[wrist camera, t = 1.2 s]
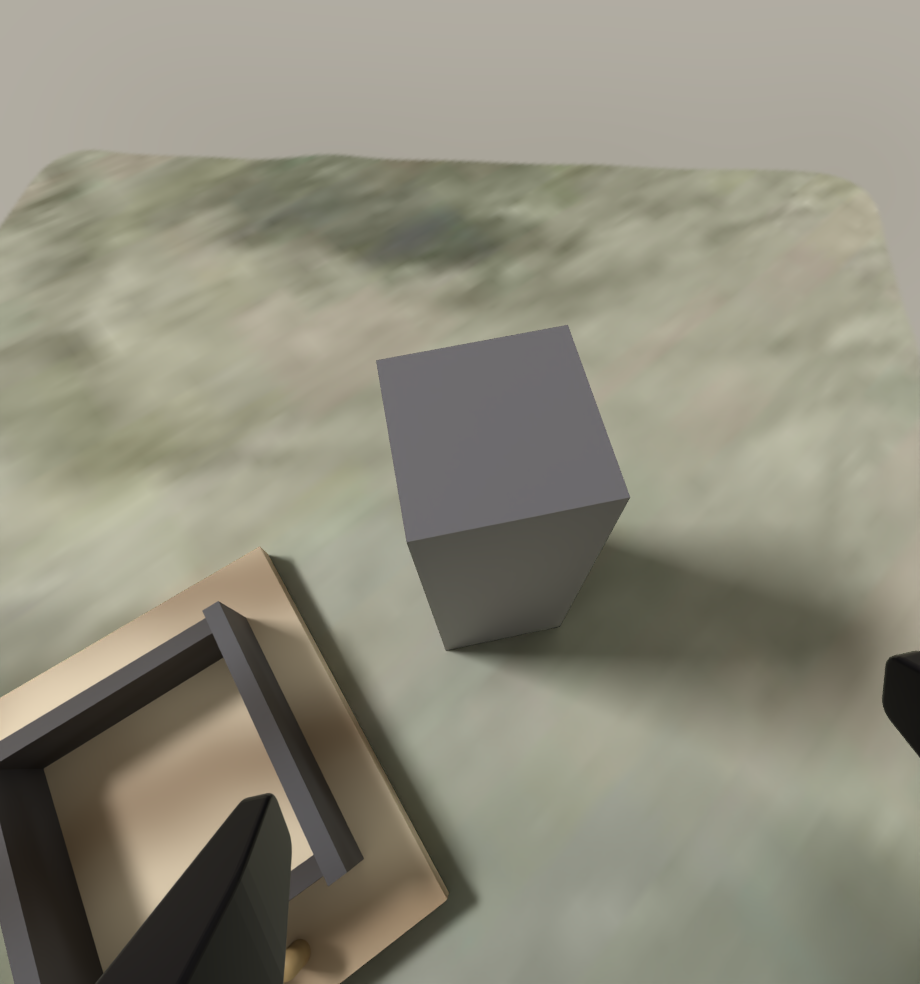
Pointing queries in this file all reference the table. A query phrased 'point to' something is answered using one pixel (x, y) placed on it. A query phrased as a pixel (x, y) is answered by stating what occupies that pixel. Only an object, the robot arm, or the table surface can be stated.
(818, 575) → the table surface
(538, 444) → the plug block
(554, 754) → the table surface
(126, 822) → the socket board
